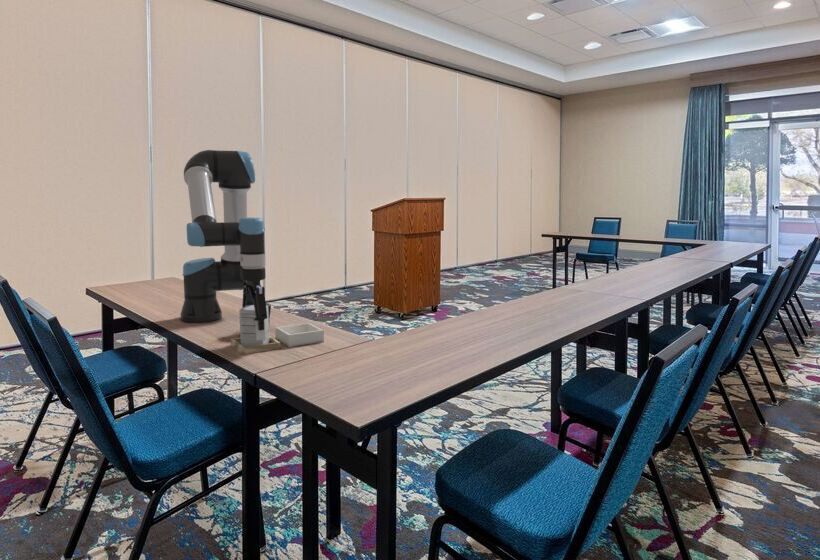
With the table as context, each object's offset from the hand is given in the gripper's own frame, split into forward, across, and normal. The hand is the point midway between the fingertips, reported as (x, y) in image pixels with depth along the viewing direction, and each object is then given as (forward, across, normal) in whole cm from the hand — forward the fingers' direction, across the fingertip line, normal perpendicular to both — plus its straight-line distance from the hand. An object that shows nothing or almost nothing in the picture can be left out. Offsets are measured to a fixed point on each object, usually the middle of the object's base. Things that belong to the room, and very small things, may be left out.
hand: (255, 335), depth 172 cm
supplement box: (+3, 0, 0) cm, 3 cm away
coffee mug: (+4, -18, +8) cm, 20 cm away
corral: (+4, 0, 0) cm, 4 cm away
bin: (+4, 0, +15) cm, 15 cm away
